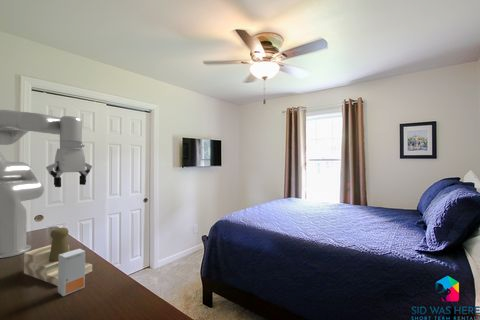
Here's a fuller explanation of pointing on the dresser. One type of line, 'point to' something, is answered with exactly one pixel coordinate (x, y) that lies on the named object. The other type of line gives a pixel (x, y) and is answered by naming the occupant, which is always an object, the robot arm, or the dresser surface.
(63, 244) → the cork
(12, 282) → the dresser surface
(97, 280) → the dresser surface
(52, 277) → the step stand
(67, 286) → the skincare box
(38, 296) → the dresser surface
